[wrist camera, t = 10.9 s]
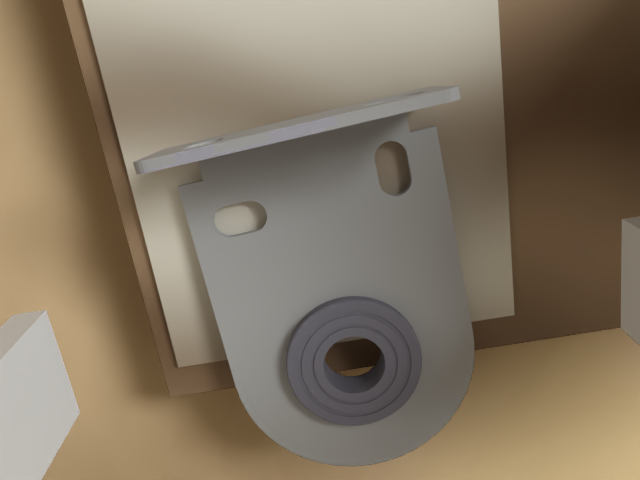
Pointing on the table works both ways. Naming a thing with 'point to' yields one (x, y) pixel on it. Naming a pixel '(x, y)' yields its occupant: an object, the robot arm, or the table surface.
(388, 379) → the bracket
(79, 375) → the table surface
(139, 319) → the table surface
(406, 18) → the brown wooden flat board
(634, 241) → the robot arm
